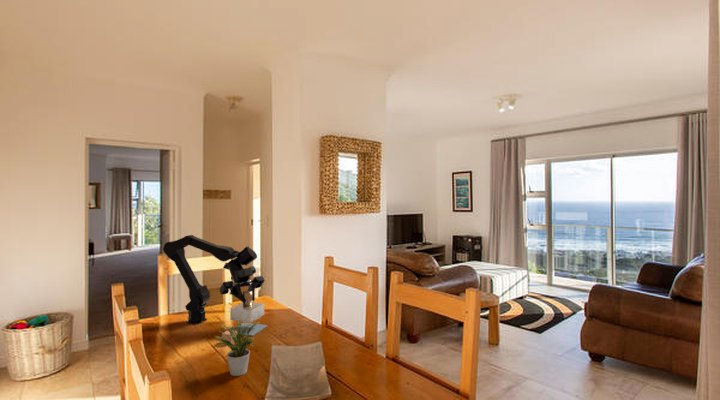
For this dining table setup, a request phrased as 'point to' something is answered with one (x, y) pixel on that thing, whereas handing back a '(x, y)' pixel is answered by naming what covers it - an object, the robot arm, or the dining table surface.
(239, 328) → the house plant
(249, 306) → the cover
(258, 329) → the mat
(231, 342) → the visible block
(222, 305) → the dining table surface
